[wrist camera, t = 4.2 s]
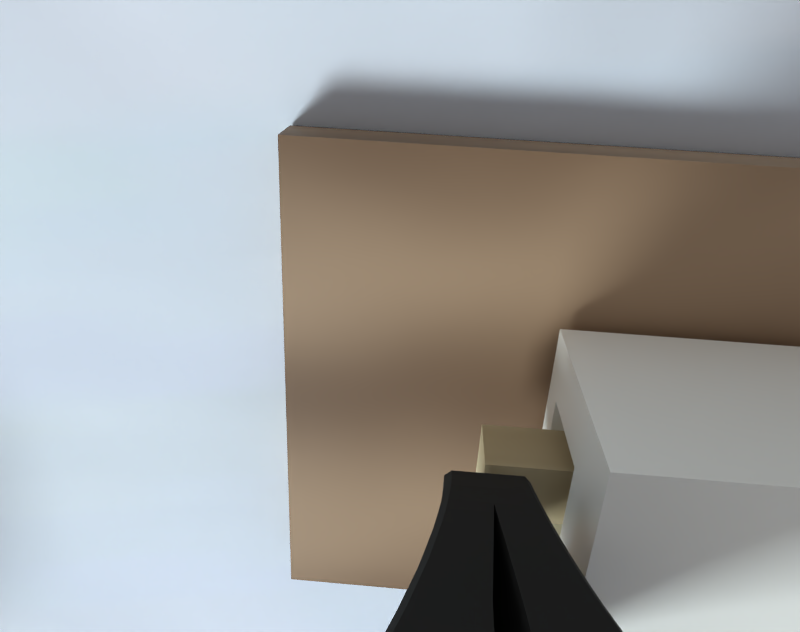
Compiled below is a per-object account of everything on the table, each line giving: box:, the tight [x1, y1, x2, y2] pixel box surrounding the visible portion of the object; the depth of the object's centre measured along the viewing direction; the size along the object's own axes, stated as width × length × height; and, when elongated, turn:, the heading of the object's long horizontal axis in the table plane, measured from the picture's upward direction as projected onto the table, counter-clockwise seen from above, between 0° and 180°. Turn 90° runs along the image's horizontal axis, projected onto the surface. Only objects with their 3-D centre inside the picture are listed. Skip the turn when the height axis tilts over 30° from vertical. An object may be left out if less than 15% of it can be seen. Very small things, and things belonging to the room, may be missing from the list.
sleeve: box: [542, 329, 800, 632], centre depth 11 cm, size 4×5×4 cm
